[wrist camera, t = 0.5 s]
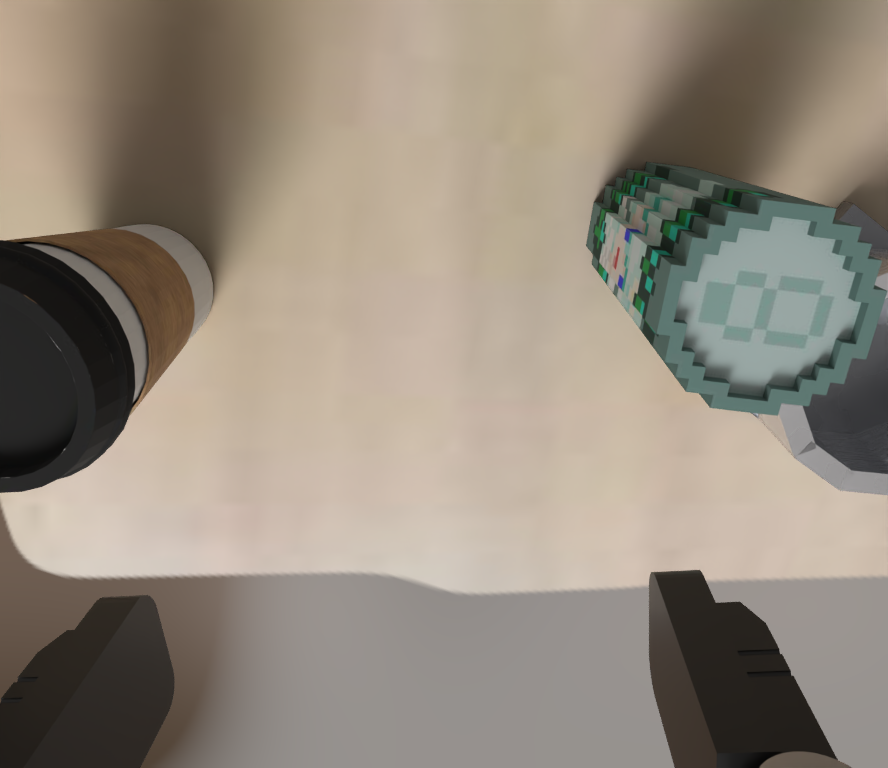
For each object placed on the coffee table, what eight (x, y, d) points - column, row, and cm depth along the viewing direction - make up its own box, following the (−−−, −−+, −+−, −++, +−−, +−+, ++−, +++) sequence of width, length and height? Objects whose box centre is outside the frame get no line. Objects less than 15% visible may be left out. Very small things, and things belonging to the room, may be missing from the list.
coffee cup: (112, 160, 36) (-122, 194, 22) (271, 261, 37) (147, 355, 23) (40, 307, 39) (-212, 423, 24) (191, 397, 40) (36, 556, 26)
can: (602, 156, 35) (687, 190, 21) (735, 172, 35) (910, 217, 21) (578, 288, 37) (642, 399, 23) (704, 303, 37) (845, 424, 23)
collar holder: (843, 201, 35) (906, 217, 30) (997, 325, 37) (1082, 361, 32) (695, 370, 38) (730, 411, 33) (844, 478, 40) (899, 533, 35)
